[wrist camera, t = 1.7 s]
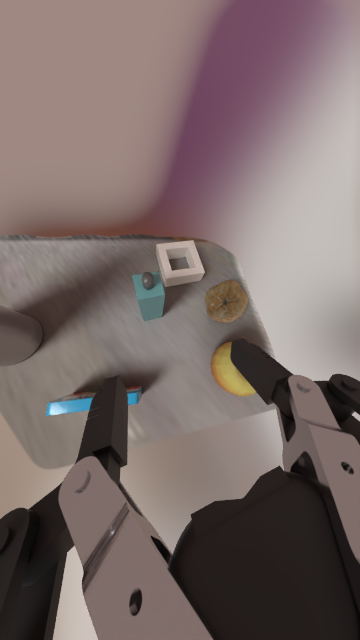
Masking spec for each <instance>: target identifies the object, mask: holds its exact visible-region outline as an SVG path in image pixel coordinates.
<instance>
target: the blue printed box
mask: <svg viewBox="0 0 360 640" xmlns="http://www.w3.org/2000/svg"><path fill="white" fill-rule="evenodd" d="M126 391H127V395H128V405H131V404H137V403H139V401H140V399H141V396H142V386H138V387H129V388H126ZM96 392H97V391H93V392H84V393H75V394H70V395H67V396H65V397H62V398H59V399H57V400H54V401H51V402H49V403H48V406H47V413H46V416H48V415H56V414H64V413H71V412H79V411H86V410H89V409H90V405H91V401H92V399H93V397H94V396H95V394H96Z"/></svg>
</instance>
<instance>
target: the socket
mask: <svg viewBox="0 0 360 640" xmlns="http://www.w3.org/2000/svg"><path fill="white" fill-rule="evenodd" d="M156 256H157V259H158V263H159V266H160V270H161V273H162V277H163V280H164V284H165V287H168V286H174V285H180V284H185V283H191V282H197V281H201V279H202V277H203V275H204V273H205V271H204V268H203V266H202V263H201V260H200V258H199V255H198V252H197V249H196V247H195V244H194V241H193V240H192V241H183V242H173V243H164V244H156ZM184 257H186V259H187V262H188V265H189V268H187V269H180V270H174V271H172V269H171V266H170V263H169V259H177V258H184Z"/></svg>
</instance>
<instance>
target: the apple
mask: <svg viewBox="0 0 360 640" xmlns="http://www.w3.org/2000/svg"><path fill="white" fill-rule="evenodd" d="M232 342H233V341H232ZM232 342H227V343H224V344H223V345H221V346H220V347H218V348H217V349H216V350H215V352H214V354H213V355H212V360H211V370H212V375H213V377H214V378H215V380H216V382H217V384H218V385H220V386H221V387H222V388H223V389H224V390H225V391H227V392H229V393H232V394H235V395H238V396H250V395H252V394H254V393H256V391H255V390H254V389H253V387H252V386H251V385H250V384H249V383H248V381H247V380H246V379H245V378H244V377H243V376H242V374H241V373H240V372H239V371H238V370H237V368H236V367H235V366H234V365H233V363H232V362H231V359H230V354H231V344H232Z"/></svg>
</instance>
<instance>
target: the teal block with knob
mask: <svg viewBox="0 0 360 640" xmlns="http://www.w3.org/2000/svg"><path fill="white" fill-rule="evenodd" d="M132 278H133V282H134V287H135V291H136V295H137V300H138V303H139V306H140V310H141V313H142V316H143V320H144V321H146V320H151V319H155V318H160V317H162V315H163V307H164V299H165V293H164V289H163V286H162V282H161V278H160V275H159V271H158V272H151V273H149V272H146V273H144V274H138V275H132Z"/></svg>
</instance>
